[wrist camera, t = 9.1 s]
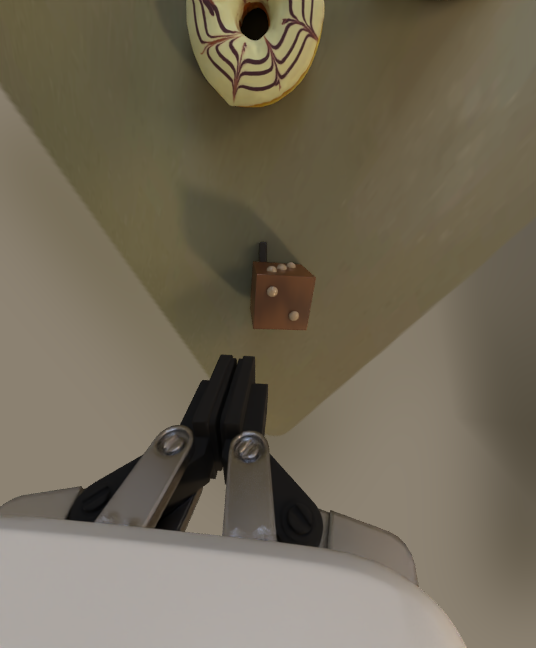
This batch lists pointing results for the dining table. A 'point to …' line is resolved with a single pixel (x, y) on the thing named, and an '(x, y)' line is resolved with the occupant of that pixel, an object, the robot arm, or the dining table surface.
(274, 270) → the die
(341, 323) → the dining table surface
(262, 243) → the stop strip
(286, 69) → the decorated donut
